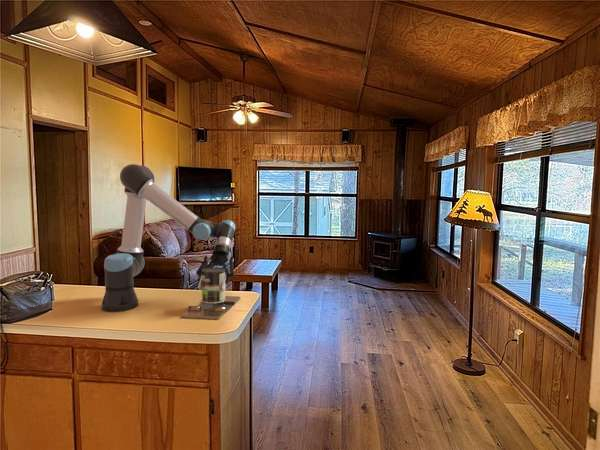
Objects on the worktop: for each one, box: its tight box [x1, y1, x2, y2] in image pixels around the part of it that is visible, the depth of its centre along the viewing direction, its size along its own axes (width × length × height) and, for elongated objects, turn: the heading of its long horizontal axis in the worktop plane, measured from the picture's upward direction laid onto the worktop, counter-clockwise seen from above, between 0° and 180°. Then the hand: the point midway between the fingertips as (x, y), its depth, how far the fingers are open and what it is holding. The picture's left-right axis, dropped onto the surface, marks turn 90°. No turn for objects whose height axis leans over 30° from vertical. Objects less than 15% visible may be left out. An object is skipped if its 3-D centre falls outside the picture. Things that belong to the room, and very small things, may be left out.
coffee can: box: [201, 267, 226, 304], centre depth 178 cm, size 10×10×14 cm
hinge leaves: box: [181, 295, 241, 320], centre depth 178 cm, size 16×31×3 cm, turn 172°
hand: (211, 289), depth 175 cm, fingers closed on coffee can, 10 cm apart
